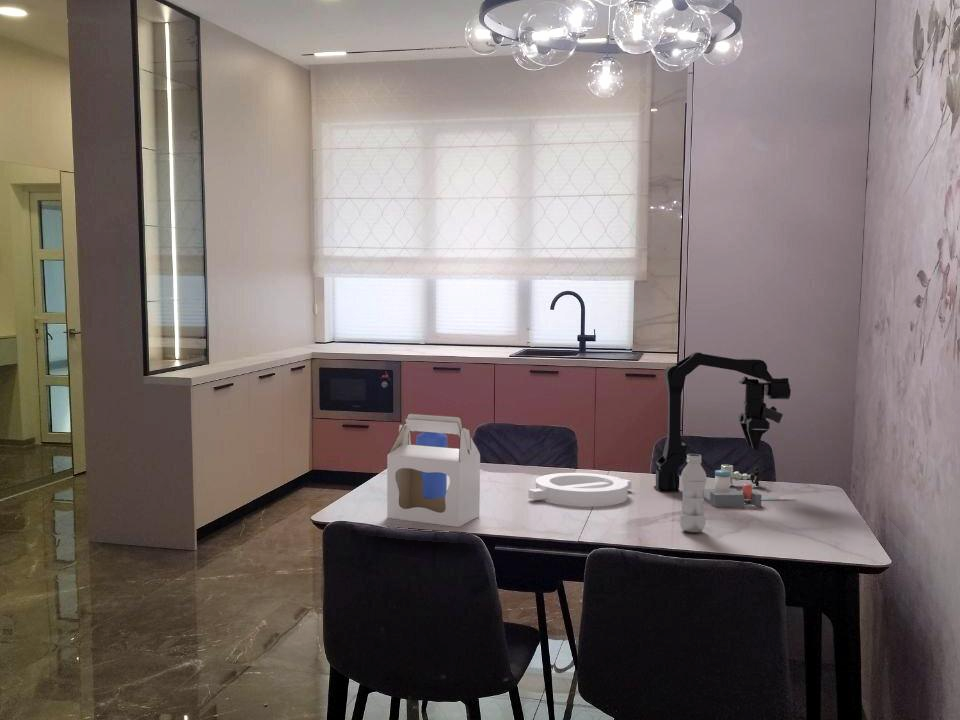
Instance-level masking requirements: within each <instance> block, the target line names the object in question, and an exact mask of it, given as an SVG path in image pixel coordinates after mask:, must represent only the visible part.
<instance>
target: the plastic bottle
mask: <svg viewBox="0 0 960 720" xmlns="http://www.w3.org/2000/svg"><path fill="white" fill-rule="evenodd" d="M686 457H687V458H686V460H685V461H686V463H687V464H686V465H685V467H684V468H683V470H682V471H681V474H680V479H681V480H680V481H681V487H682V503H681V504H682V505H681V513H680V516H679V527H680V528H681V531H684V532H686V533H687V532H688V533H691V534H692V533H695V534H696V533H702V532H703V530H705V526H706V517H705V509H704V506H705V505H704V501H705V500H704V498H703V497H704V489H706V483H707V474H706V471H705V470H704V468H703V466H702V465H701V464H702V455H701V454H699V453H698V454H697V453H688V454H686Z"/></svg>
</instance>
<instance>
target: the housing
mask: <svg viewBox="0 0 960 720" xmlns="http://www.w3.org/2000/svg"><path fill="white" fill-rule="evenodd" d="M759 493H760V492H757V491H752V499H744V494H743V491H739V490H738V489H736V488H730V492H715V488H705V489H704V497H703V498H704V500H703V501H705V502H706V501H707V502H706V503H708V504H709V503H710V504H709V505H711V506H712V505H713V507H714V508H729V507H730V508H736V507H737V508H741V507H742V508H743V507H744V508H745V504H744V503H751V504H750V505H752V506H753V505H754V507H762V500H761V496H762V495H761V494H759Z"/></svg>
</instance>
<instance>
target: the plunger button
mask: <svg viewBox="0 0 960 720" xmlns="http://www.w3.org/2000/svg"><path fill="white" fill-rule="evenodd" d="M752 492H753V484H750V483H743V484H742V493H743V494H744V499H752Z"/></svg>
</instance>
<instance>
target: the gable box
mask: <svg viewBox="0 0 960 720" xmlns="http://www.w3.org/2000/svg"><path fill="white" fill-rule="evenodd" d="M404 420H405V424H399V427H398V434H397V436H396V438H395V439H394V441H393V444H392V446H391V448H390V449H389V451H388V453H387V456H386V457H387V462H386V464H387V465H386V467H387V468H386V470H387V471H386V473H387V474H386V476H387V477H386V478H387V479H386V481H387V483H386V484H387V485H386V489H387V490H386V491H387V493H386V498H387V499H386V509H387V510H386V515H387V516H386V517H387V519H392V520H400V521H409V522H415V523H423V524H432V525H438V526H445V527H446V526H447V527H455V528H459V527H462V526H464V525H465V524H467V523H469V522H471V521H473V520H475V519H477V518H478V517H480V506H481V505H480V503H481V502H480V500H481V499H480V498H481V496H480V494H481V486H480V485H481V454H480V451H479V450H478V447H477V445H476V444H475V442H474V440H473V439H472V437H471V430H470V429H467V428H465V427H464V426H463V421H462V418H461V417H458V416H447V415H433V414H432V415H431V414H422V413H421V414H419V413H409V414H408V415H407V417H406V418H404ZM411 432H421V433H423V432H435V433H443V434H449V435H452V434H453V435H454V436H455V435H458V437H459V446H458V447H459V448H458V447H457V448H456V447H448V446H447V447H437V446H425V445H416V444H412V442H411ZM420 471H422V472H427V473H432V472H440V473H444V474H446V475H447V477H448V478H449V485H448V486H447V492H446V495H445V498H444V497H440V498H433V499H428V498H425V497H424V496H423V493H422V491H423V480H422V476H421V473H420Z"/></svg>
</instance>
